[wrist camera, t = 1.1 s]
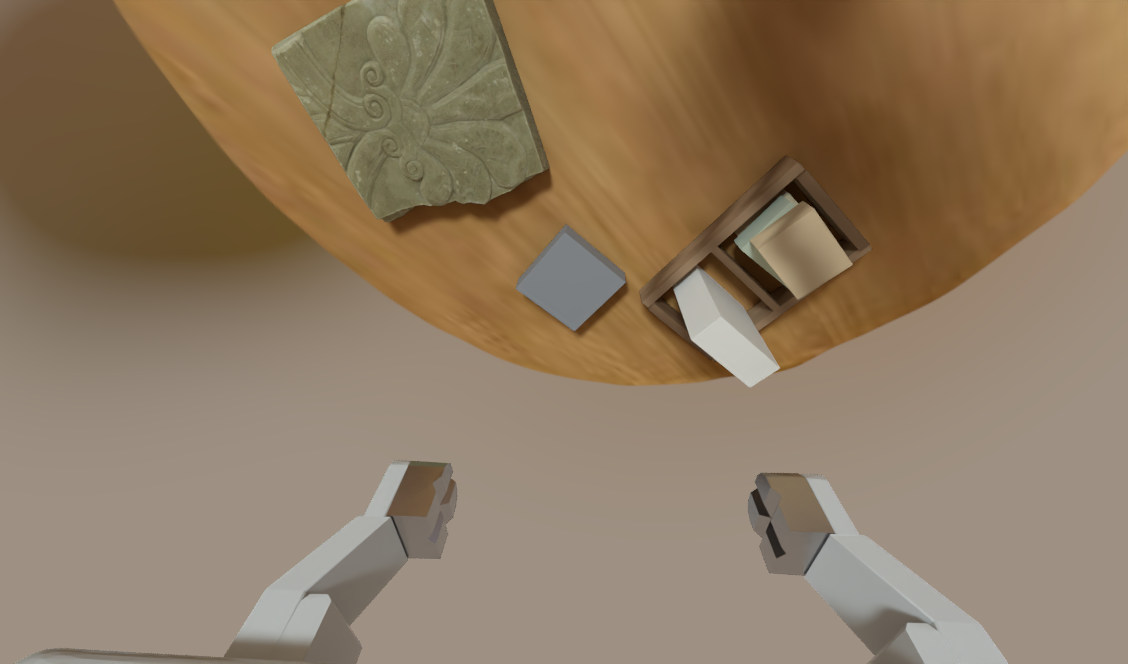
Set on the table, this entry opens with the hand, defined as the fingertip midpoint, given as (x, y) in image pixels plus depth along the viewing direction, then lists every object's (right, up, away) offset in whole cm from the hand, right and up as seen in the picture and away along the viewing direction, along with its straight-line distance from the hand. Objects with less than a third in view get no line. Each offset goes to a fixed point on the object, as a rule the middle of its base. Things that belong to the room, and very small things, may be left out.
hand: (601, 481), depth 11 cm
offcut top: (+22, +13, +30) cm, 39 cm away
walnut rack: (+20, +12, +36) cm, 42 cm away
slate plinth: (0, +11, +38) cm, 39 cm away
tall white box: (+16, +9, +38) cm, 42 cm away
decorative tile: (-15, +26, +30) cm, 42 cm away
